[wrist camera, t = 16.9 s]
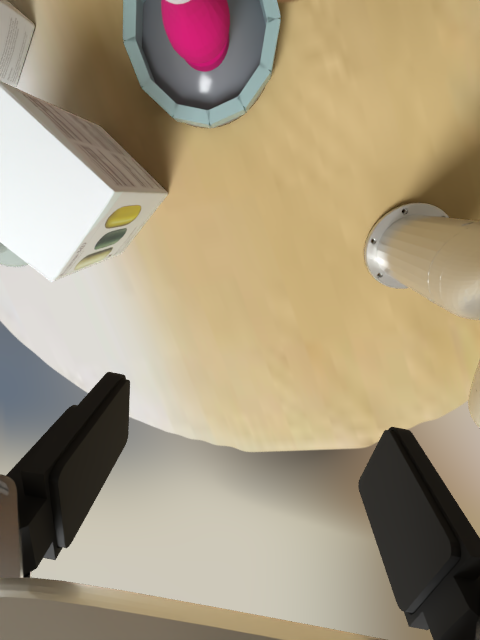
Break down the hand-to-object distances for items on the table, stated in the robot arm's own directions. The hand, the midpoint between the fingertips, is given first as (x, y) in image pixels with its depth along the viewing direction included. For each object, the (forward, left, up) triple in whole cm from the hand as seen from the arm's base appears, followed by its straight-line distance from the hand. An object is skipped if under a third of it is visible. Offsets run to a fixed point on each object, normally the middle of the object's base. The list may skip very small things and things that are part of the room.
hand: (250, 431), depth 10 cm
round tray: (+12, -24, -38) cm, 47 cm away
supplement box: (+24, -4, -39) cm, 46 cm away
